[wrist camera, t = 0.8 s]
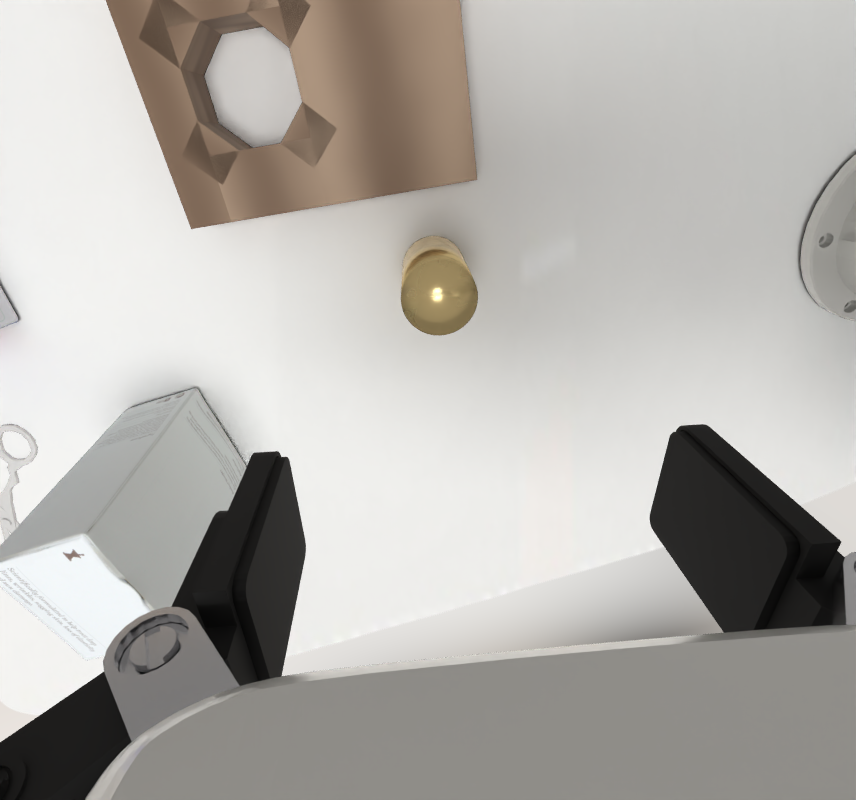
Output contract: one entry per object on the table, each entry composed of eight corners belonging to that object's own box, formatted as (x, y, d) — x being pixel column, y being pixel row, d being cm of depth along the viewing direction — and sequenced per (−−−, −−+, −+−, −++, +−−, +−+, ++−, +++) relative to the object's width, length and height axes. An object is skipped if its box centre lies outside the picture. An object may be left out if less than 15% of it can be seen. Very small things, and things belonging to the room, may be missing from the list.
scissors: (16, 408, 34) (103, 598, 44) (24, 402, 35) (108, 591, 44) (-136, 410, 34) (-16, 601, 43) (-126, 404, 35) (-9, 594, 44)
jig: (442, -98, 23) (447, -130, 20) (470, 176, 28) (476, 179, 26) (121, -34, 23) (84, -57, 21) (210, 221, 29) (191, 228, 26)
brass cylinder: (460, 231, 30) (473, 253, 24) (467, 293, 32) (481, 328, 26) (397, 241, 30) (394, 266, 24) (408, 302, 32) (408, 340, 26)
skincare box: (128, 406, 35) (-40, 563, 22) (202, 383, 34) (75, 531, 21) (188, 491, 39) (76, 669, 26) (256, 472, 38) (176, 644, 25)
